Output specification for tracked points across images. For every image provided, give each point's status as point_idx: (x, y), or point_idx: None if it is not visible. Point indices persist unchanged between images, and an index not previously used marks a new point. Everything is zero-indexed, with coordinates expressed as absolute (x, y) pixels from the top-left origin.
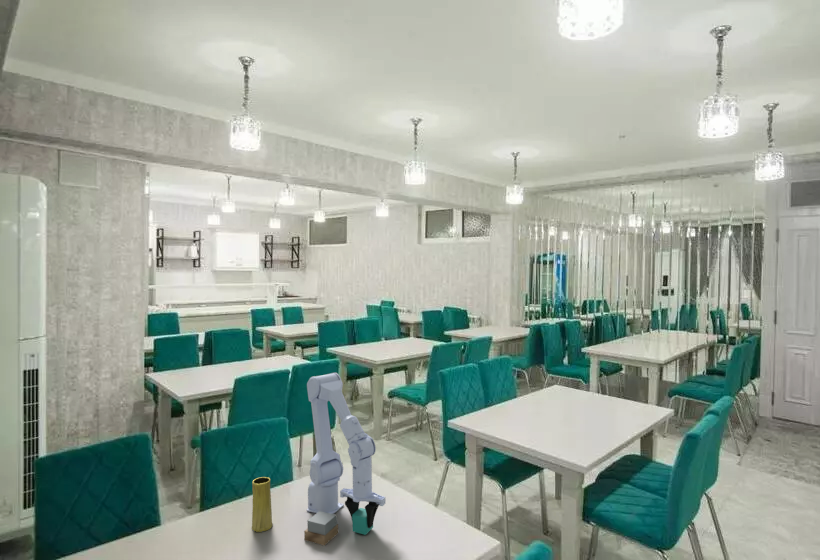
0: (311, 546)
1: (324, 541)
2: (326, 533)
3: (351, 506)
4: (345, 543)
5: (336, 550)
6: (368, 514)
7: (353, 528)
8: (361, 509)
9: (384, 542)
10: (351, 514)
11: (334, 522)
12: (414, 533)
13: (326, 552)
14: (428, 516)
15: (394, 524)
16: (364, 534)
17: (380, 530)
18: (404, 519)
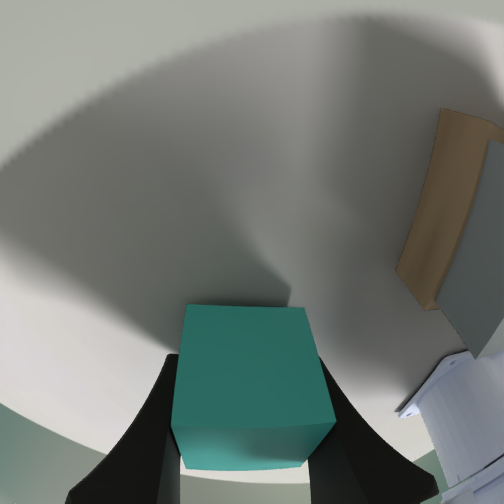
0: (495, 93)
1: (460, 115)
2: (487, 162)
3: (362, 493)
4: (303, 169)
5: (333, 55)
6: (139, 456)
7: (300, 325)
8: (280, 463)
9: (49, 276)
10: (347, 417)
11: (465, 298)
12: (20, 361)
13: (393, 23)
14: (72, 430)
15: (126, 401)
16: (196, 304)
17: (148, 362)
18: (118, 422)
